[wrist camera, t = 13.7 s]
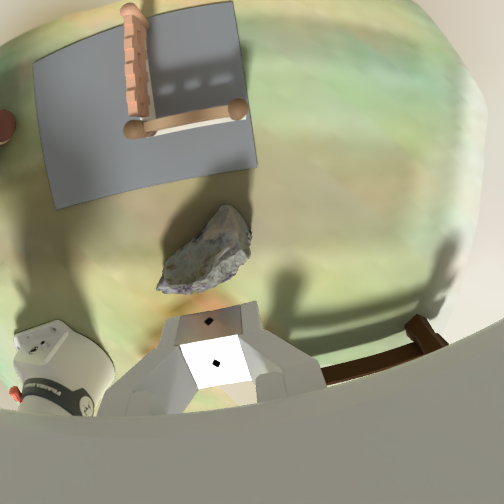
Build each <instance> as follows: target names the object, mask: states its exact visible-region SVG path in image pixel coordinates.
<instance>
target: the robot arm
mask: <svg viewBox="0 0 504 504" xmlns="http://www.w3.org/2000/svg"><path fill="white" fill-rule="evenodd" d="M13 341H14V346H15V349H16V351H17V354H16V356H15V357H14V363H13V364H14V369H15V371H16V374H17V376H18V378H19V380H20V382H21V383H22V385H23V390H22V393H21V392H20V391H19V389H18V387H17V386H13V387H12V388H11V389H10V391H9V392H10V393H9V394H10V395H11V396H12V397H13V398H14V400H15V401H16V402H18V401H19V402H20V403H21V404H20V406H19V408H18V410H17V411H16V410H9V409H2V408H0V504H504V318H503V319H501V320H499V321H497V322H496V323H494V324H492V325H490V326H488V327H486V328H484V329H482V330H480V331H478V332H476V333H474V334H472V335H470V336H468V337H466V338H464V339H461V340H459V341H457V342H455V343H453V344H450V345H448V346H446V347H443V348H441V349H439V350H436V351H434V352H431V353H429V354H427V355H424V356H422V357H419V358H416V359H414V360H411V361H409V362H406V363H403V364H401V365H398V366H395V367H392V368H389V369H386V370H384V371H381V372H378V373H375V374H372V375H369V376H366V377H362V378H359V379H356V380H352V381H349V382H346V383H342V384H339V385H335V386H331V387H328V388H327V385H326V382H325V380H324V377H323V374H322V371H321V368H320V365H319V363H318V360H316V359H314V358H312V357H311V356H309V355H307V354H306V353H304V352H302V351H301V350H299V349H297V348H296V347H294V346H292V345H291V344H289V343H287V342H286V341H284V340H282V339H281V338H279V337H277V336H276V335H274V334H272V333H271V332H269V331H268V330H263V325H262V321H261V317H260V313H259V308H258V304H257V301H252V302H248V303H244V304H241V305H236V306H231V307H227V308H223V309H218V310H214V311H206V312H200V313H194V314H188V315H182V316H176V317H171V318H167V319H166V320H165V324H164V327H163V331H162V334H161V338H160V341H159V345H158V349H153V350H152V351H151V352H150V353H149V354H147V355H146V356H145V357H144V358H143V359H142V360H141V361H139V362H138V363H137V364H136V365H135V366H134V367H133V368H131V369H130V370H129V371H128V372H127V373H126V374H125V375H124V376H122V377H121V378H120V379H119V380H118V381H117V382H116V383H114V384H113V385H112V386H111V387H110V388H109V389H108V390H107V388H108V387H109V386H110V385H111V384H112V382H113V380H114V377H115V371H114V367H113V364H112V362H111V360H110V359H109V357H108V356H107V355H106V353H105V352H104V351H103V350H102V349H101V348H100V347H99V346H98V345H97V344H95V343H94V342H93V341H91V340H90V339H88V338H86V337H84V336H82V335H80V334H78V333H76V332H74V331H73V330H72V329H71V328H69V327H68V326H67V325H66V324H65V323H63V322H62V321H60V320H55V321H52V322H49V323H46V324H43V325H40V326H37V327H34V328H31V329H29V330H26V331H23V332H20V333H17V334H15V336H14V338H13ZM245 380H251V381H252V382H253V383H254V384H255V385H256V392H257V403H255V404H250V405H243V406H237V407H230V408H224V409H216V410H209V411H200V412H191V413H183V411H184V410H185V408H186V407H187V406H188V404H189V403H190V401H191V400H192V398H193V397H194V396H195V394H196V393H197V391H198V390H199V388H201V387H207V386H213V385H219V384H224V383H232V382H239V381H245ZM103 395H104V396H103ZM102 397H103V399H102ZM100 399H102V402H101V404H100V407H99V410H98V413H97V416H96V417H93V413H94V410H95V408H96V406H97V405H98V403H99V401H100Z"/></svg>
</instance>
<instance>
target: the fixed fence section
mask: <svg viewBox="0 0 504 504" xmlns="http://www.w3.org/2000/svg"><path fill="white" fill-rule="evenodd" d="M248 111H249V105H248V103H247V102H246V101H245V100H244V99H241V98H236V99H233V100H232V101H231V102H230V103H229V104H228V105H226V106H220V107H214V108H208V109H202V110H197V111H192V112H187V113H182V114H177V115H172V116H168V117H163V118H159V119H155V120H151V121H143V120H130V121H128V122H127V123H126V124H125V125H124V128H123V133H124V135H125V137H126V138H128V139H140V138H148V137H153V136H154V135H155V134H156V133H157V131H159V130H163V129H168V128H173V127H178V126H183V125H187V124H192V123H197V122H204V121H208V120H214V119H220V118H227V117H230V118H231V119H232V120H235V121H238V120H241V119H242V118H243V117H244V116H245V115H246V114H247V113H248Z"/></svg>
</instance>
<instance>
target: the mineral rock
mask: <svg viewBox="0 0 504 504" xmlns="http://www.w3.org/2000/svg"><path fill="white" fill-rule="evenodd" d="M251 235H252V231H251V230H250V229H249V227H248V226H247V224H246V223H245V221H244V219H243V217H242V216H241V215H240V214H239V212H238V211H237V210H236V209H235V208H234V207H232V206H231V205H226V204H224V205H221V207H220V208H219V210H218V211H217V213H216V214H215V215H214V216H213V217H212V218H211V220H210V221H208V224H207V225H206V226H205V227H204V229H203V231H202V232H200V233H199V234H198V235H197V236H196V237H194V238H193V239H192V240H191V241H190V243H188V244H186V245H185V246H184V247H182V248H179V249H177V250H176V251H175V252H174V254H172V256H171V257H170V258H168V260H167V261H166V263H165V266H164V268H163V271H162V272H163V274H162V277H161V279H160V281H159V283H158V284H157V288H156V290H159V291H162V293H164V294H171V293H175V294H185V295H189V294H193V293H201V292H203V291H205V290H208V289H210V288H213V287H215V286H217V285H218V284H220V283H223V282H225V281H227V280H229V279H231V277H232V276H234V275H235V274H236V273H237V271H238V268H239V266H240V265H244V263H245V262H246V261H247V259H249V257H250V254H251V253H250V248H249V246H250V245H251V244H250V242H251V239H252V236H251Z"/></svg>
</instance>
